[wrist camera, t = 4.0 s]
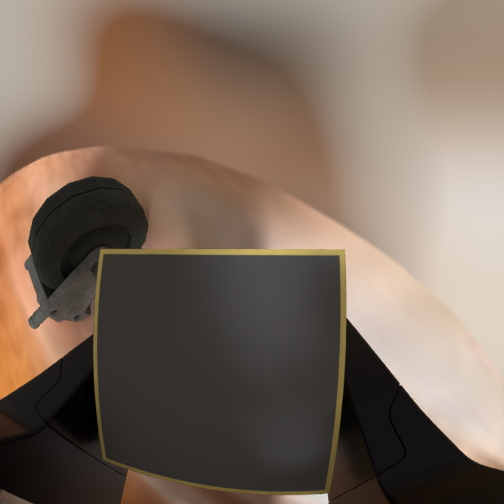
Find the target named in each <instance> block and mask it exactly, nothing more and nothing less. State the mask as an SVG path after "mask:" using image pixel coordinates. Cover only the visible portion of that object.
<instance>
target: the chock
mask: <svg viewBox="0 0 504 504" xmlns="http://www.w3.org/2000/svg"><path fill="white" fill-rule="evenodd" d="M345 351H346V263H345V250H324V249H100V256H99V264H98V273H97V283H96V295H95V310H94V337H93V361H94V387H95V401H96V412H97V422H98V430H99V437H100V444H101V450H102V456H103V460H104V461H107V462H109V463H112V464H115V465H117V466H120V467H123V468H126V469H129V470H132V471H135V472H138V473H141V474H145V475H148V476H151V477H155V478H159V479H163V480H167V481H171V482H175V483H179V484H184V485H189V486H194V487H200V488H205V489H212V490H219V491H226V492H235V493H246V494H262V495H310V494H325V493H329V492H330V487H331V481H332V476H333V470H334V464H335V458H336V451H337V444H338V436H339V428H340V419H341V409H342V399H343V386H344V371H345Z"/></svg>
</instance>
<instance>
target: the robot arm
mask: <svg viewBox="0 0 504 504" xmlns="http://www.w3.org/2000/svg"><path fill="white" fill-rule="evenodd" d="M93 337H94V334H93V335H91V336H90V337H89V338H87V339H86V340H85V341H83V342H82V343H81V344H79V345H78V346H77V347H75V348H74V349H73V350H71V351H70V352H69V353H67V354H66V355H65V356H64V357H63V358H61V359H60V360H58V361H57V362H56V363H54V364H53V365H52V366H50V367H49V368H48V369H46V370H45V371H44V372H42V373H41V374H39V375H38V376H36V377H35V378H33V379H32V380H30V381H29V382H27V383H26V384H24V385H23V386H21V387H20V388H18V389H17V390H15V391H14V392H12V393H10V394H9V395H7V396H6V397H4V398H3V399H1V400H0V504H120V503H121V498H122V494H123V489H124V485H125V481H126V476H127V472H128V469H126V468H123V467H120V466H117V465H115V464H112V463H109V462H107V461H104V460H103V456H102V450H101V444H100V437H99V430H98V422H97V412H96V401H95V387H94V361H93ZM399 385H400V383H399V382H398V380H397V379H396V378H395V377H394V375H393V374H392V373H391V372H390V370H389V369H388V368H387V367H386V365H385V364H384V363H383V362H382V360H381V359H380V358H379V357H378V355H377V354H376V353H375V352H374V351H373V349H372V348H371V347H370V346H369V344H368V343H367V342H366V341H365V339H364V338H363V337H362V336H361V335H360V333H359V332H358V331H357V330H356V329H355V327H354V326H353V325H352V324H351V323H350V321H349V320H348V319H347V318H346V351H345V371H344V386H343V399H342V409H341V419H340V428H339V436H338V444H337V451H336V458H335V464H334V470H333V476H332V481H331V487H330V492H329V493H328V501H329V504H504V471H503V470H499V469H495V468H491V467H488V466H484V465H481V464H479V463H477V462H475V461H473V460H471V459H470V458H469V457H467V456H466V455H465V454H464V453H463V452H461V451H460V450H459V449H458V447H457V446H456V445H455V444H454V443H453V442H452V441H451V440H450V439H449V438H448V437H447V436H446V435H445V434H444V433H443V432H442V431H441V430H440V429H439V428H438V427H437V426H436V425H435V424H434V423H433V422H432V421H431V420H430V419H429V418H428V416H427V415H426V414H425V413H424V412H423V411H422V410H421V409H420V408H419V406H418V405H417V404H416V403H415V402H414V400H413V399H412V398H411V397H410V396H409V394H408V393H407V392H406V390H405V389H404V388H403V387H402V386H401V385H400V386H399Z"/></svg>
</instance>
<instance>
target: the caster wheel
mask: <svg viewBox="0 0 504 504" xmlns="http://www.w3.org/2000/svg"><path fill="white" fill-rule="evenodd" d="M147 229H148V222H147V219H146V216H145V213H144V211H143V208H142V207H141V205H140V204H139V202H138V201H137V199H136V198H135V196H134V195H133V193H132V192H131V191H130V189H129V188H127V187H126V186H124V185H123V184H121V183H120V182H118V181H117V180H115V179H113V178H104V177H93V176H92V177H88V178H85V179H81V180H78V181H75V182H71V183H68V184H67V185H65V186H64V187H62V188H61V189H60V190H58V191H57V192H55V193H54V194H53V195H51V196H50V197H49V198H47V199H46V201H45V202H44V203H43V205H42V206H41V208H40V209H39V210H38V212H37V213H36V215H35V216H34V218H33V221H32V225H31V230H30V235H29V240H28V243H29V247H30V250H31V253H32V254H31V255H30V256H29V258H28V259H27V260H26V261H25V264H24V265H25V269H26V270H28V271H29V274H30V277H31V280H32V283H33V286H34V289H35V291H36V294H37V302H38V303H39V305H40V307H39V308H38V309H37V310H36V311H35V312H34V313H33V315H32V316H31V317H30V318H29V319H28V321H29V325H30V326H31V327H32V328H33V329H36V328H38V327H39V325H40V324H42V323H43V321H44V320H45V319H46V318H47V317H50V318H52V319H53V320H55V321H57V322H58V323H59V322H61V321H63V320H69V321H75V322H78V321H79V320H81V321H83V320H84V319H85V318H86V317H87V316H88V315H90V311H89V309H88V306H89V304H90V303H91V301H92V300H93V298H94V297H95V295H96V283H97V273H98V264H99V256H100V249H141V247H142V245H143V244H144V242H145V239H146V234H147Z"/></svg>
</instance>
